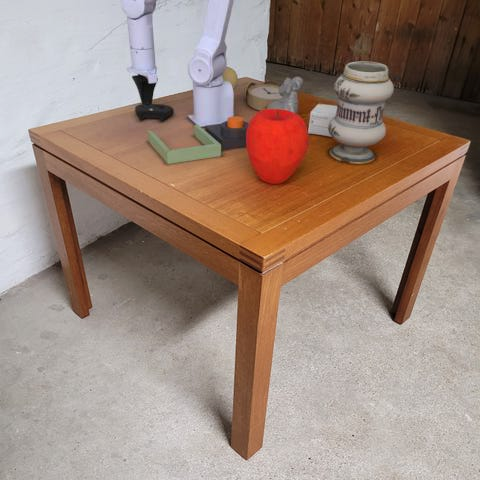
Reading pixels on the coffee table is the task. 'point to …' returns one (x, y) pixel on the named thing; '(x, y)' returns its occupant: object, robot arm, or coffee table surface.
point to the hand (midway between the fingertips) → (147, 106)
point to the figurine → (288, 95)
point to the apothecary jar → (360, 111)
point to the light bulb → (230, 77)
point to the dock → (190, 153)
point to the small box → (321, 119)
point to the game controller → (153, 111)
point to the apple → (276, 144)
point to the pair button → (235, 122)
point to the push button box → (228, 135)
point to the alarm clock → (261, 94)
